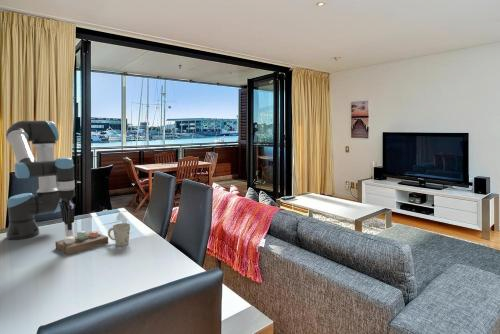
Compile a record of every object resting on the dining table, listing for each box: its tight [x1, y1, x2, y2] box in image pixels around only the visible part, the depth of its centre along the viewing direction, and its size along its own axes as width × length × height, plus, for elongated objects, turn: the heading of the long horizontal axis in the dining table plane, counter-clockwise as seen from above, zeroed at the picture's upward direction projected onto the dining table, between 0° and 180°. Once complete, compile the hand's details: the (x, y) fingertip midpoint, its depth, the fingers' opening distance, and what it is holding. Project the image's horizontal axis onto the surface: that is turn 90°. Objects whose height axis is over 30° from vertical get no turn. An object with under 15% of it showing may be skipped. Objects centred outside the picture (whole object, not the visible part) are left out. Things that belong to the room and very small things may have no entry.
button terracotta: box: [88, 230, 99, 238], centre depth 169 cm, size 4×4×4 cm
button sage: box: [76, 230, 88, 241], centre depth 164 cm, size 4×4×4 cm
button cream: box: [64, 236, 76, 245], centre depth 160 cm, size 4×4×4 cm
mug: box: [107, 222, 131, 247], centre depth 167 cm, size 8×13×10 cm, turn 78°
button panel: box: [55, 232, 109, 256], centre depth 165 cm, size 14×20×4 cm
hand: (69, 235), depth 160 cm, fingers closed
